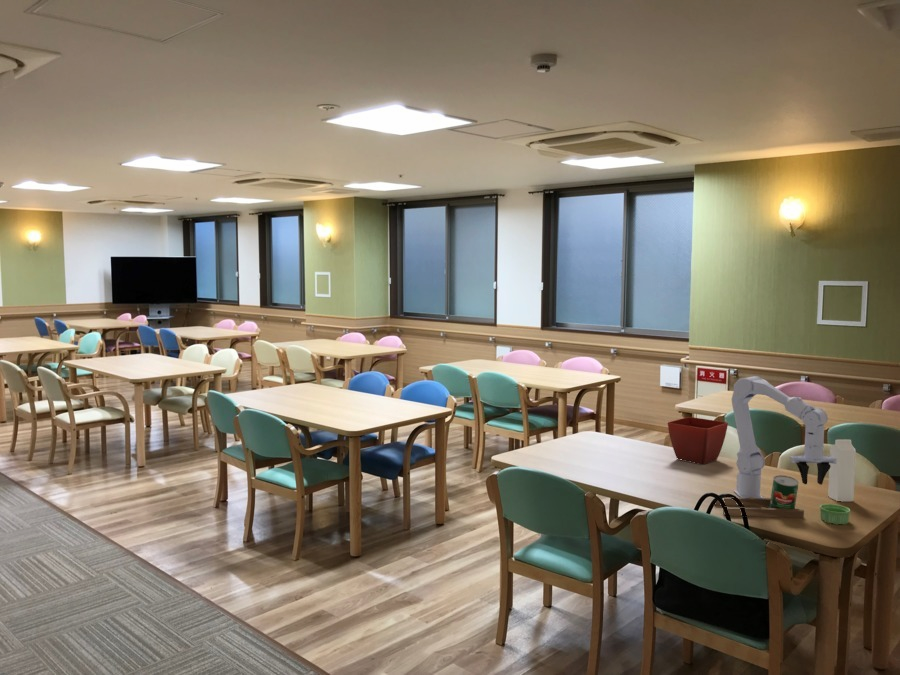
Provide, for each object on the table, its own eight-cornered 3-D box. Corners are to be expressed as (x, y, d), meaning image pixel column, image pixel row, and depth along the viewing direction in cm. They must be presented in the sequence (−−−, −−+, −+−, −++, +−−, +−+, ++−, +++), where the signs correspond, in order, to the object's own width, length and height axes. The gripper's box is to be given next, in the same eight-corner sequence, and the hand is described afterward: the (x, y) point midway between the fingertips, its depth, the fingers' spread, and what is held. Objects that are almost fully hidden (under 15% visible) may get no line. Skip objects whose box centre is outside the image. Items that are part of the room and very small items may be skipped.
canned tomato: (786, 503, 252) (791, 474, 249) (799, 514, 244) (803, 485, 241) (765, 504, 251) (769, 475, 249) (776, 515, 244) (780, 485, 241)
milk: (853, 501, 259) (857, 441, 257) (837, 501, 259) (840, 441, 257) (843, 496, 265) (846, 437, 263) (827, 496, 265) (830, 437, 263)
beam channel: (713, 504, 256) (713, 496, 256) (788, 505, 254) (788, 497, 254) (724, 515, 243) (724, 507, 243) (803, 517, 242) (804, 509, 241)
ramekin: (837, 515, 244) (837, 503, 244) (856, 524, 235) (856, 511, 235) (813, 517, 243) (813, 504, 242) (831, 526, 234) (831, 513, 233)
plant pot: (665, 459, 318) (666, 421, 316) (687, 452, 330) (689, 416, 329) (705, 468, 303) (707, 428, 302) (727, 460, 316) (729, 422, 315)
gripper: (797, 447, 242) (795, 486, 243) (841, 447, 241) (839, 487, 242) (788, 442, 249) (786, 480, 250) (831, 442, 248) (829, 481, 249)
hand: (812, 483), depth 247 cm, fingers open, 4 cm apart
